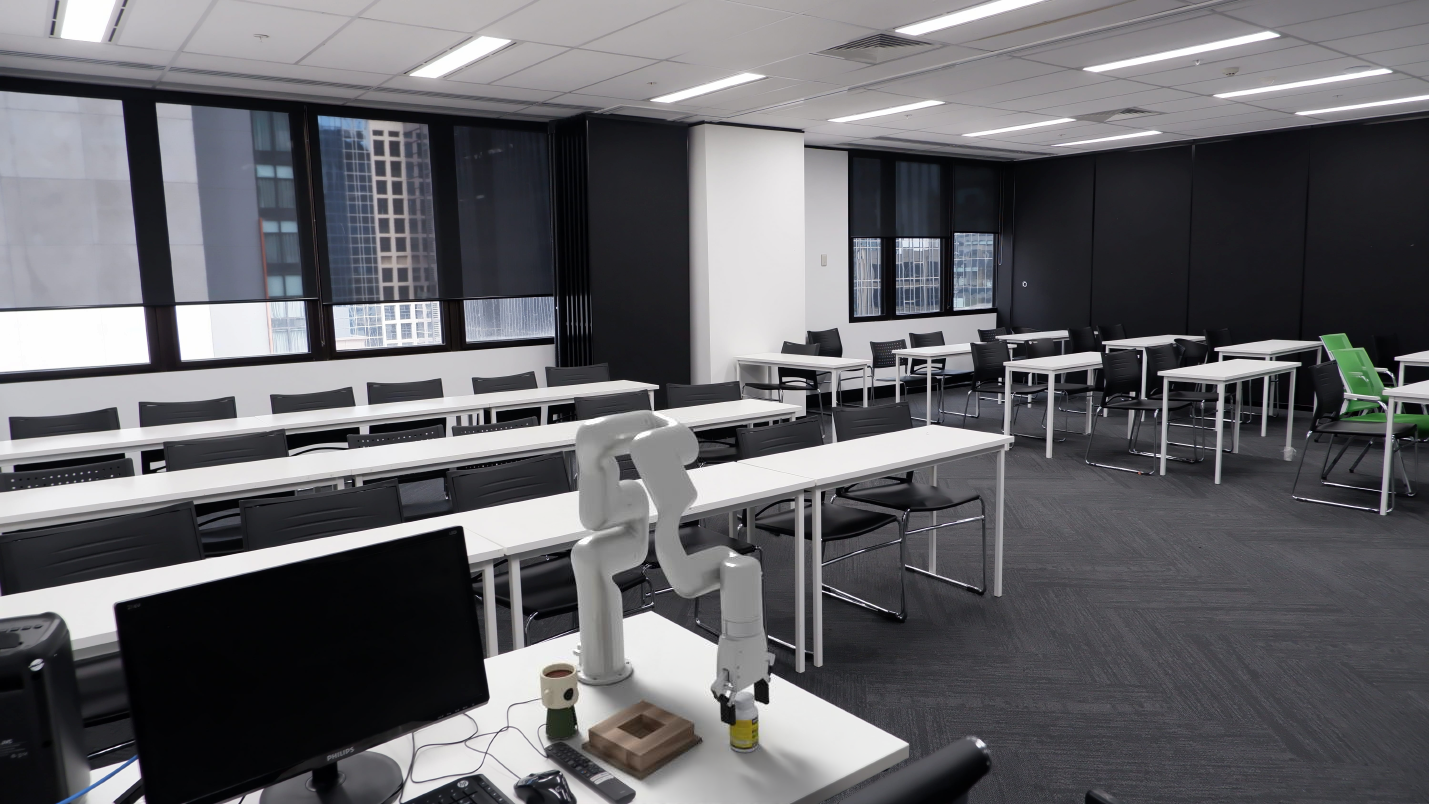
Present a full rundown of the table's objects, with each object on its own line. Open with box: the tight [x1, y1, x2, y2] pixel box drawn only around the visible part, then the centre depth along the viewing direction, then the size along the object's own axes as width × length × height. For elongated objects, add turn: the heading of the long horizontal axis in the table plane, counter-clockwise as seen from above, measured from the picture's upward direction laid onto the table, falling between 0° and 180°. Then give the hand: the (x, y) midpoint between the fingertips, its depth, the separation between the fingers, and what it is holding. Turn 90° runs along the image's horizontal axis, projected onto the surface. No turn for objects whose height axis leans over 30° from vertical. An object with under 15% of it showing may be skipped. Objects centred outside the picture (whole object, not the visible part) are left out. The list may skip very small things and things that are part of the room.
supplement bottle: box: [729, 691, 760, 753], centre depth 159 cm, size 5×5×10 cm
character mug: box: [539, 662, 580, 740], centre depth 165 cm, size 11×7×13 cm, turn 163°
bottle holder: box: [581, 699, 703, 781], centre depth 161 cm, size 16×16×4 cm
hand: (745, 712), depth 159 cm, fingers open, 9 cm apart
